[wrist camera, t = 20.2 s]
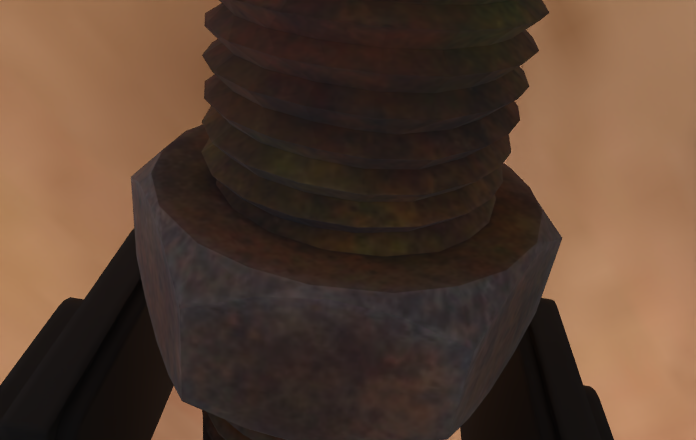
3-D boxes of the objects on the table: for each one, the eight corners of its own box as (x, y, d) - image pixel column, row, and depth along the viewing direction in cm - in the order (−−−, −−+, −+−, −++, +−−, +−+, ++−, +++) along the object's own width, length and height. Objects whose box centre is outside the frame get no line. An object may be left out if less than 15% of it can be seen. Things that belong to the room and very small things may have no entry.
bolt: (455, -172, 8) (334, 512, 16) (42, -249, 6) (130, 587, 14) (970, -159, 4) (464, 781, 11) (152, -412, 2) (192, 955, 9)
